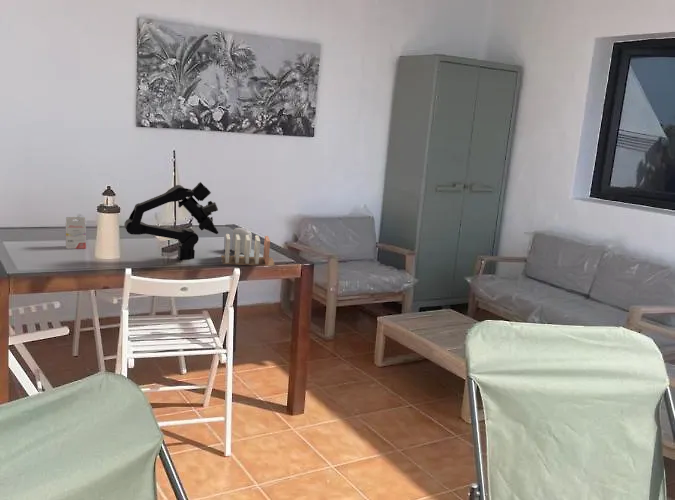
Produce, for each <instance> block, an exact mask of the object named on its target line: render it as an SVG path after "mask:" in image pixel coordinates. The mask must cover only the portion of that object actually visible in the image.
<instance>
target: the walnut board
mask: <svg viewBox="0 0 675 500" xmlns="http://www.w3.org/2000/svg"><path fill="white" fill-rule="evenodd" d="M234 256H235V255H229V263H225V255H221V264H222V265H237V266H238V265H240V266H244V265H245V266H260V267H261V266H265V267H267V266H268V267H276V265H275V260H274V259H273V257H269V263H268V264H265V262H264V259H263V256H259V264H255V261H254V256H249V264H245V259H244V255H241V256H240V255H239V263H235V258H234Z"/></svg>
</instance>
